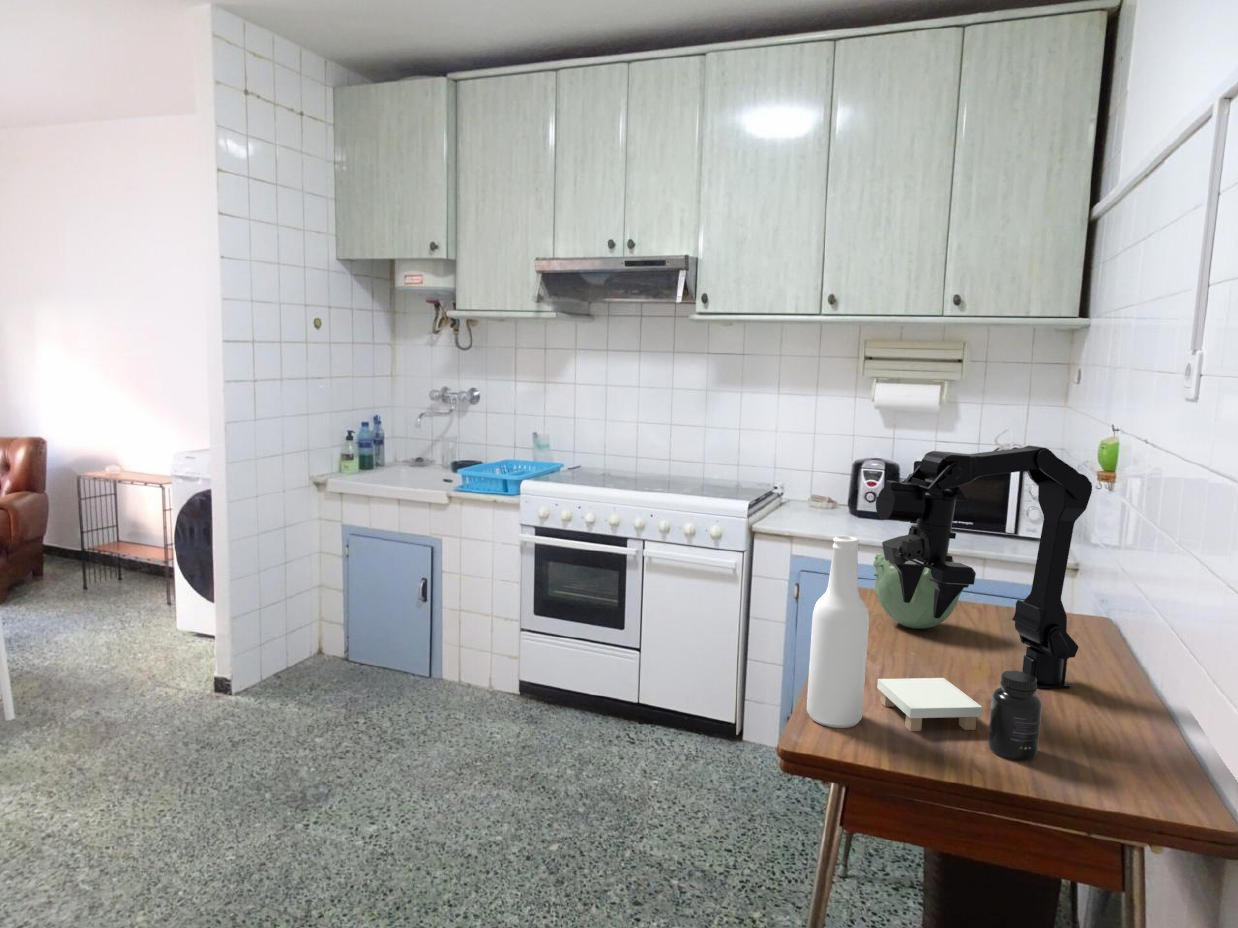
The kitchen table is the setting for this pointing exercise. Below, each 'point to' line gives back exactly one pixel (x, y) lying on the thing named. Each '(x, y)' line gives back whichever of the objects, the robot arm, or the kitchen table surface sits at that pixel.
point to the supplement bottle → (1015, 717)
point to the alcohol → (839, 643)
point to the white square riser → (928, 701)
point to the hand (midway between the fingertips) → (921, 610)
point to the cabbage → (921, 604)
